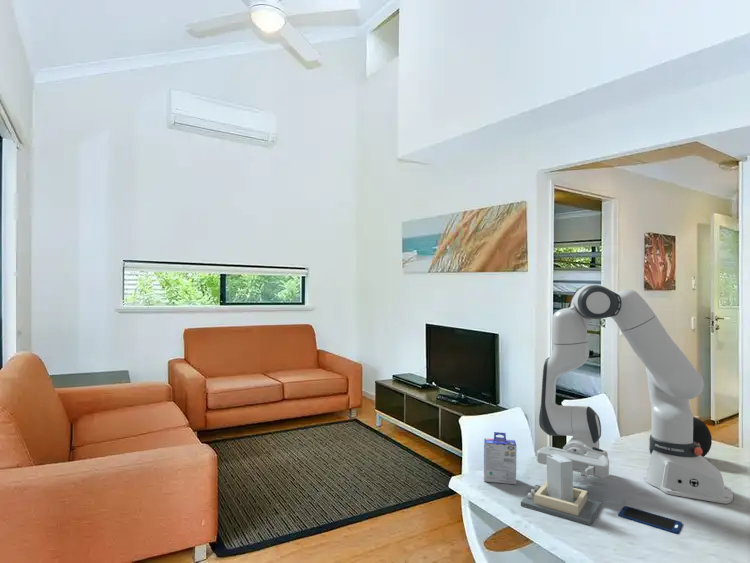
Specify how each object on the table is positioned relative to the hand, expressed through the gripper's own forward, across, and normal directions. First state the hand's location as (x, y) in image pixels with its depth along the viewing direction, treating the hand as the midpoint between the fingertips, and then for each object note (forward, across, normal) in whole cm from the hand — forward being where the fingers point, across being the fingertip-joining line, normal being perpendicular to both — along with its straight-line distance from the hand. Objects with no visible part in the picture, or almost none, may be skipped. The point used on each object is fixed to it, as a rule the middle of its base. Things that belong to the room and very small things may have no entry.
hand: (566, 469), depth 135 cm
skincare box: (+5, -1, +8) cm, 9 cm away
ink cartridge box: (-1, -20, +9) cm, 22 cm away
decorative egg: (-61, +28, +9) cm, 68 cm away
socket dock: (+5, 0, +8) cm, 10 cm away
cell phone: (-1, +21, +9) cm, 23 cm away
